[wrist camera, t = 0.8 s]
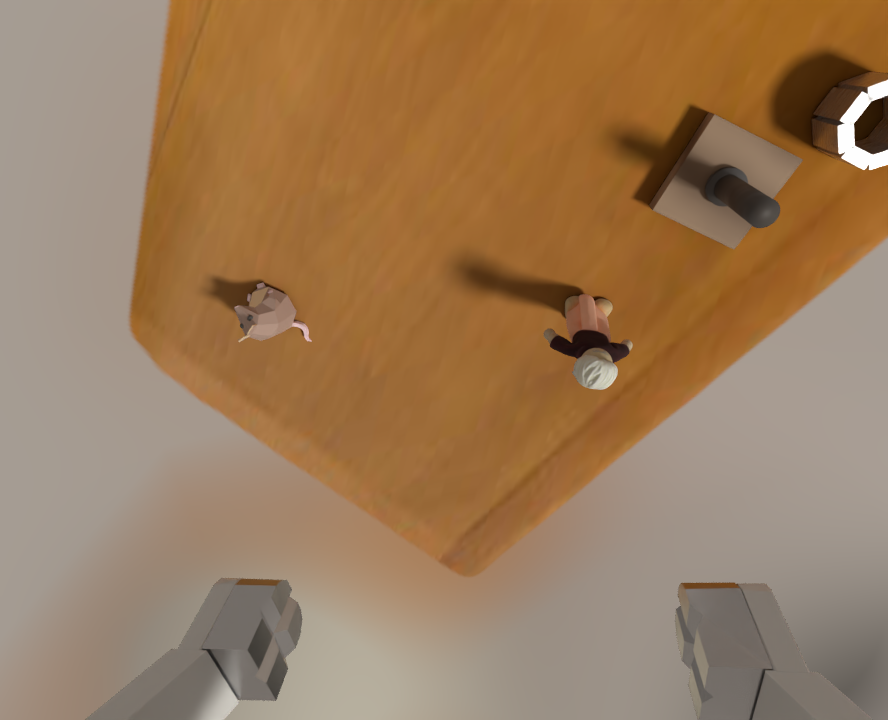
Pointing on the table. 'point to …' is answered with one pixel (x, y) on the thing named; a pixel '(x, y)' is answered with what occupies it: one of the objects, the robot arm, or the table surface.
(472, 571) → the table surface
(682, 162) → the post block
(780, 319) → the table surface
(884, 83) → the steel ring
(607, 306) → the grandmother figurine
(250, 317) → the mouse figurine
